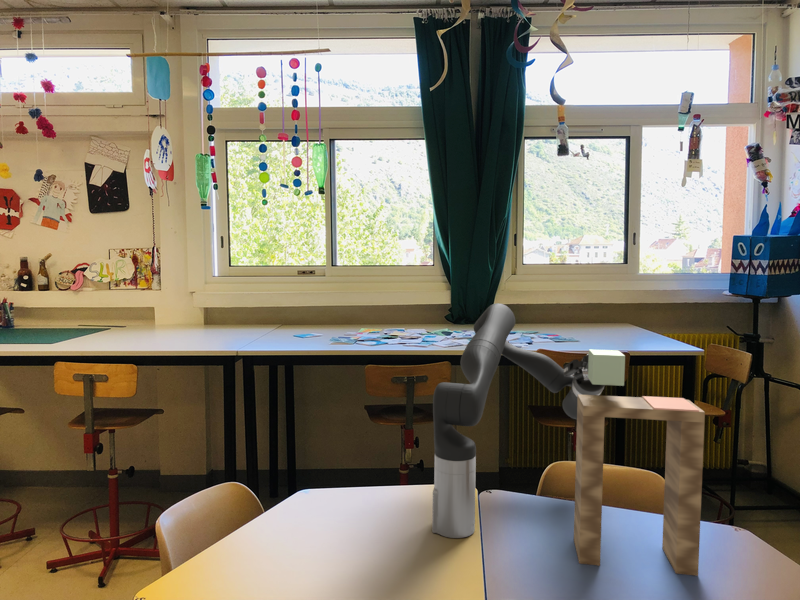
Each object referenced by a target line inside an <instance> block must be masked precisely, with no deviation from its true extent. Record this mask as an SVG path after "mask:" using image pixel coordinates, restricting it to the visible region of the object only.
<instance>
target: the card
mask: <svg viewBox="0 0 800 600" xmlns="http://www.w3.org/2000/svg"><path fill="white" fill-rule="evenodd" d="M641 397H642V398H643V399H644V400H645V401H646V402H647V403H648V404H649V405H650V406H651V407H652V408H653V409H655V410H674V411H693V412H699V410H698V409H697V408H696V407H694V406H693V405H692V404H690V403H689V402H688V401H687V400H688V399H686V398H684V397H667V396H650V395H649V396H648V395H646V396H645V395H642V396H641Z"/></svg>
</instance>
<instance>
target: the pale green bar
mask: <svg viewBox="0 0 800 600" xmlns="http://www.w3.org/2000/svg"><path fill="white" fill-rule="evenodd" d="M588 354H589V362H588V378H589V380H590V381H591V383H592V384H596V385H605V386H619V387H621V386H622V387H624V386H625V376H626V375H625V371H626V355H625V354H624V353H622V352H621V351H620V350H615V349H612V350H611V349H590V348H589V349H588Z"/></svg>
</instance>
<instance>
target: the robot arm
mask: <svg viewBox="0 0 800 600" xmlns="http://www.w3.org/2000/svg"><path fill="white" fill-rule="evenodd" d="M515 326H516V317H515V314H514V312H513V310H511V308H510V307H508V306H507V305H506V304H503V303H493V304H490V305H489V306H488V307H486V309H485V310H484V311H483V313H482V314H481V315H480V316H479V317H478V319H477V320H476V321H475V322H474V324H473V332H474V335H473V336H472V338H471V339H470V340H469V342H468V343H467V345H465V349H464V351H463V352H462V355H461V356H460V368H461V371H462V373H463V375H464V376H465V377H464V378H466V380H467V381H468V382H469V383H458V382H457V383H456V382H447V381H445V382H444V381H443V382H440V383H437V384H436V387H435V388H434V392H433V396H432V416H433V443H434V469H433V470H434V473H433V474H434V478H433V479H434V480H433V482H434V483H433V485H434V486H433V490H432V520H431V521H432V523H431V524H432V525H431V526H432V527H431V528H432V530H431V532H432V533H434V534H438V535H441V536H442V537H446V538H449V539H450V538H451V539H462V538H467V537H469V536H471V535H473V534H474V533H475V530H476V529H475V527H476V526H475V524H476V518H475V517H476V475H477V474H476V470H477V467H476V466H477V463H476V462H477V460H476V459H477V447H476V443H475V441H474V440H472V439H471V438H470V437H469V436H466V435H463V434H462V433H461V432H459V431H458V430H456V428H455V427H454V426H460V427H474V426H477V425H479V422H480V421H481V419H482V417H483V414H484V410H485V407H486V401H487V397H488V394H489V389H490V386H491V384H492V380H493V378H494V375H495V373H496V371H497V369H498V365H499V363H500V360H501V357H502V356H503V357H505V358H507V359H508V360H509V361H511V362H512V363H514V364H516V365H517V366H519V367H520V368H522V369H523V370H525V372H527V373H529V374H530V375H531V376H532V377H534V378H535V379H536V380H537V381H538V382H540V384H542V386H544V387H545V388H546V389H547V390H548V391H550V392H551V393H553V394H557V393H559V392H560V391H562V390H563V389H564V388H566V387H570V390H569V391H568V393H567V394H566V396H565V397H564V399H563V400H562V403H561V405H562V409H563V411H564V413H565V414H566V415H567V416H568V417H570V418H571V419H572V420H577V400H578V394H580V395H602V392H603V390H604V389H605V386H606V385H596V384H592V383H591V381H590V380H589V378H588V362H589V353H587V354H586V355H584V356H583V357H582V359H581V360H580V361H579V359H573V360H571V361H570V362H568V363H567V364H565V365H563V367H562V366H561V365H559V364H558V363H557V362H556V361H554V360H553V359H552V358H551V357H549V356H548V355H545V354H543V353H541V352H536V351H533V350H528V349H523V348H521V347H518V346H516V345H514V344H513V343H512V344H511V343H510V342H509V341H508V340H507V339H508V337H509V335H510V334H511V331H512V330H513V329H514V328H515Z"/></svg>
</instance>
